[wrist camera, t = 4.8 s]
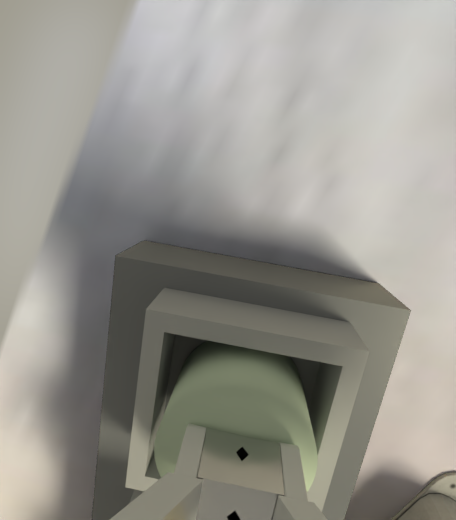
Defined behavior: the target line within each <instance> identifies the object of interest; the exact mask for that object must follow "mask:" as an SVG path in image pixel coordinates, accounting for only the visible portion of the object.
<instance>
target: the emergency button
mask: <svg viewBox="0 0 456 520" xmlns="http://www.w3.org/2000/svg"><path fill="white" fill-rule="evenodd" d="M391 520H456V472H451V473H445V474H443V475H441V476H439V477H438V478H436V479H434V480H433V481H432V482H431V483H430V484H429V485H428V486H427V487H426V488H425V489H424V490H422V491H421V492H420V493H419V494H418V495H417V496H416V497H415V498H414V499H413V500H412V501H410V502H409V503H408V504H407V505H406V506H405V507H404V508H403V509H402V510H401V511H400V512H398V513H397V514H396V515H395V516H394V517H393V518H392V519H391Z"/></svg>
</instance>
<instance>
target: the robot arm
mask: <svg viewBox="0 0 456 520" xmlns="http://www.w3.org/2000/svg"><path fill="white" fill-rule="evenodd" d="M205 434H206V435H205ZM110 520H327V519H326V517H325V516H324V515H323V513H322V512H321V511H320V509H319V508H318V507H317V506H316V504H315V503H313V502H308V497H307V491H306V485H305V479H304V473H303V467H302V461H301V455H300V449H299V447H298V446H297V445H292V444H286V443H281V442H279V443H278V442H273V441H268V440H263V439H258V438H253V437H248V436H243V435H238V434H234V433H230V432H225V431H221V430H217V429H212V428H208V427H207V430H206V427H202V426H198V425H193V424H188V426H187V428H186V431H185V435H184V438H183V442H182V446H181V449H180V453H179V456H178V460H177V463H176V467H175V471H174V473H170V472H168V473H166V474H165V475H164V476H163V477H161V478H160V479H159V480H158V481H157V482H155V483H154V484H153V485H152V486H150V487H149V488H148V489H147V490H145V491H144V492H143V493H142V494H140V495H139V496H138V497H137V498H136V499H134V500H133V501H132V502H131V503H129V504H128V505H127V506H126V507H124V508H123V509H122V510H121V511H120V512H118V513H117V514H116V515H115V516H113V517H112V518H111V519H110Z"/></svg>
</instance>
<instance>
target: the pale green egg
mask: <svg viewBox="0 0 456 520" xmlns="http://www.w3.org/2000/svg"><path fill="white" fill-rule="evenodd" d="M188 424H193V425H198V426H202V427H206V430H207V427H208V428H212V429H217V430H221V431H225V432H230V433H234V434H238V435H243V436H248V437H253V438H258V439H263V440H268V441H273V442H278V443H279V442H281V443H286V444H292V445H297V446H298V447H299V449H300V455H301V461H302V467H303V473H304V479H305V485H306V491H307V492H308V490H309V489H310V487H311V485H312V483H313V480H314V478H315V475H316V470H317V462H318V455H317V447H316V443H315V438H314V434H313V430H312V425H311V421H310V416H309V412H308V408H307V403H306V399H305V395H304V390H303V386H302V381H301V378H300V374H299V372H298V370H297V367H296V366H295V364H294V362H293V361H292V360H291V358H290V357H289V356H286V355H281V354H276V353H270V352H265V351H260V350H255V349H250V348H244V347H239V346H234V345H229V344H224V343H218V342H213V341H206V342H204V343H203V344H201V345H200V346H198V347H197V348H196V349H195V350H194V351H193V352H192V353H191V354H190V355H189V357H188V358H187V359H186V361H185V363H184V364H183V367H182V369H181V372H180V374H179V377H178V379H177V382H176V385H175V387H174V390H173V392H172V395H171V397H170V400H169V402H168V405H167V408H166V410H165V413H164V415H163V418H162V420H161V423H160V425H159V428H158V431H157V433H156V438H155V444H154V455H155V462H156V466H157V469H158V472H159V474H160V477H163V476H164V475H165V474H166V473H168V472H170V473H174V471H175V467H176V463H177V460H178V456H179V453H180V449H181V446H182V442H183V438H184V435H185V431H186V428H187V426H188ZM205 435H206V434H205Z"/></svg>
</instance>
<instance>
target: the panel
mask: <svg viewBox="0 0 456 520" xmlns="http://www.w3.org/2000/svg"><path fill="white" fill-rule="evenodd" d="M410 312H411V310H410V309H409V308H408V307H406V306H405V305H404V304H403V303H402V302H400V301H399V300H398V299H397V298H396V297H394V296H393V295H392V294H391V293H390V292H388V291H387V290H386V289H385V288H384V287H383V286H381V285H380V284H379V283H374V282H369V281H363V280H358V279H352V278H347V277H341V276H336V275H330V274H325V273H319V272H314V271H308V270H303V269H297V268H292V267H286V266H281V265H276V264H270V263H265V262H259V261H254V260H248V259H243V258H237V257H232V256H226V255H221V254H215V253H210V252H204V251H199V250H193V249H188V248H182V247H177V246H171V245H166V244H160V243H155V242H149V241H142V242H140V243H138V244H136V245H134V246H133V247H131V248H129V249H127V250H125V251H123V252H121V253H120V254H118V255H116V256H115V266H114V277H113V288H112V299H111V310H110V321H109V332H108V344H107V355H106V366H105V377H104V388H103V399H102V410H101V421H100V433H99V444H98V455H97V466H96V477H95V488H94V499H93V511H92V520H110V519H111V518H112V517H113V516H115V515H116V514H117V513H118V512H120V511H121V510H122V509H123V508H124V507H126V506H127V505H128V504H129V503H131V502H132V501H133V500H134V499H136V498H137V497H138V496H139V495H140V494H142V493H143V492H144V491H145V490H147V489H148V488H149V487H150V486H152V485H153V484H154V483H155V482H157V481H158V480H159V479H160V478H161V477H160V474H159V472H158V469H157V466H156V462H155V455H154V444H155V438H156V433H157V431H158V428H159V425H160V423H161V420H162V418H163V415H164V413H165V410H166V408H167V405H168V402H169V400H170V397H171V395H172V392H173V390H174V387H175V385H176V382H177V379H178V377H179V374H180V372H181V369H182V367H183V364H184V363H185V361H186V359H187V358H188V357H189V355H190V354H191V353H192V352H193V351H194V350H195V349H196V348H197V347H198V346H200V345H201V344H203V343H204V342H206V341H213V342H218V343H224V344H229V345H234V346H239V347H244V348H250V349H255V350H260V351H265V352H270V353H276V354H281V355H286V356H289V357H290V358H291V360H292V361H293V362H294V364H295V366H296V367H297V370H298V372H299V374H300V378H301V381H302V386H303V390H304V395H305V399H306V403H307V408H308V412H309V416H310V421H311V425H312V430H313V434H314V438H315V443H316V447H317V455H318V462H317V470H316V475H315V478H314V480H313V483H312V485H311V487H310V489H309V490H308V492H307V497H308V502H313V503H315V504H316V506H317V507H318V508H319V509H320V511H321V512H322V513H323V515H324V516H325V517H326V519H327V520H344V518H345V515H346V512H347V508H348V505H349V502H350V499H351V496H352V493H353V490H354V487H355V483H356V480H357V477H358V474H359V471H360V468H361V465H362V462H363V458H364V455H365V452H366V449H367V446H368V443H369V440H370V437H371V433H372V430H373V427H374V424H375V421H376V418H377V415H378V412H379V408H380V405H381V402H382V399H383V396H384V393H385V390H386V387H387V383H388V380H389V377H390V374H391V371H392V368H393V365H394V362H395V358H396V355H397V352H398V349H399V346H400V343H401V340H402V337H403V333H404V330H405V327H406V324H407V321H408V318H409V315H410Z"/></svg>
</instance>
